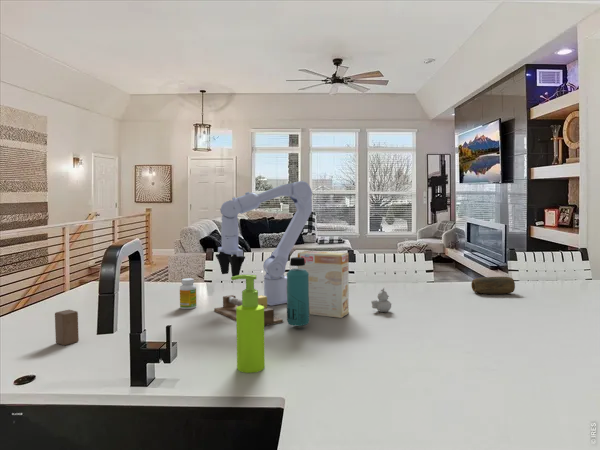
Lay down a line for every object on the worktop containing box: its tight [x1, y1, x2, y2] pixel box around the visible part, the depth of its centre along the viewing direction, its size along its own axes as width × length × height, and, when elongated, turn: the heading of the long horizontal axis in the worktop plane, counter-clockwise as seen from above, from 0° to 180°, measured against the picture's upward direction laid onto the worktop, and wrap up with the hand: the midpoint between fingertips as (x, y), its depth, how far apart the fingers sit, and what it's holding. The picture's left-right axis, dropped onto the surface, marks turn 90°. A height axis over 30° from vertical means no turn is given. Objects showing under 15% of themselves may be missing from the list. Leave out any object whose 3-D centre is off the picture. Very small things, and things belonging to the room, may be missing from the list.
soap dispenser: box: [230, 274, 266, 374], centre depth 92 cm, size 6×7×20 cm
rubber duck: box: [371, 287, 392, 313], centre depth 140 cm, size 5×7×8 cm
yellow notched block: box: [258, 294, 268, 309], centre depth 130 cm, size 3×6×6 cm, turn 127°
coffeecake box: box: [297, 250, 350, 319], centre depth 138 cm, size 15×7×20 cm, turn 65°
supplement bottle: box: [179, 277, 197, 310], centre depth 146 cm, size 5×5×10 cm
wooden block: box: [54, 309, 80, 346], centre depth 110 cm, size 4×4×8 cm
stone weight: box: [471, 276, 516, 295], centre depth 166 cm, size 15×7×7 cm, turn 92°
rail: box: [213, 294, 284, 327], centre depth 135 cm, size 25×10×4 cm, turn 37°
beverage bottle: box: [286, 256, 310, 327], centre depth 122 cm, size 6×7×20 cm
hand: (230, 275), depth 149 cm, fingers open, 7 cm apart
